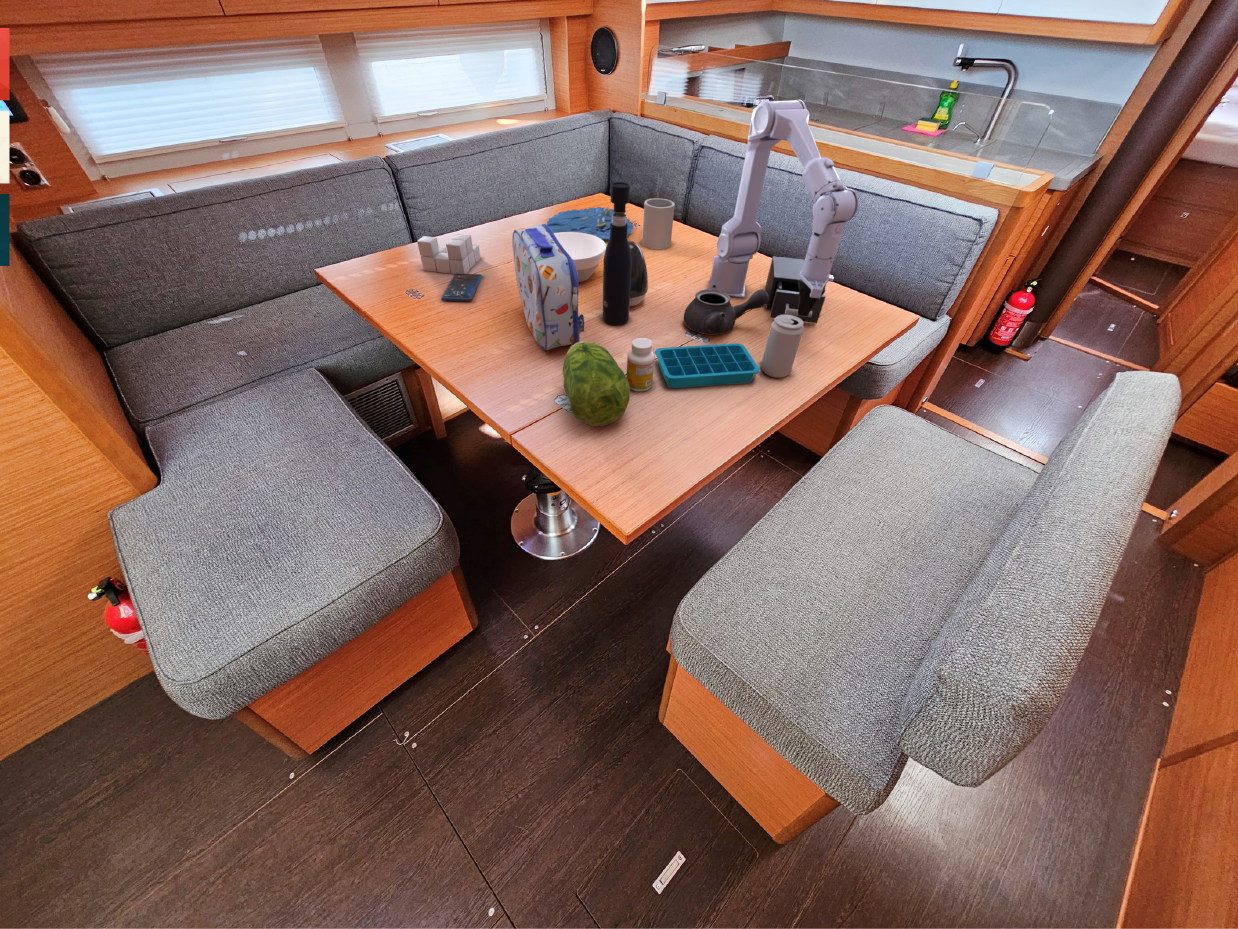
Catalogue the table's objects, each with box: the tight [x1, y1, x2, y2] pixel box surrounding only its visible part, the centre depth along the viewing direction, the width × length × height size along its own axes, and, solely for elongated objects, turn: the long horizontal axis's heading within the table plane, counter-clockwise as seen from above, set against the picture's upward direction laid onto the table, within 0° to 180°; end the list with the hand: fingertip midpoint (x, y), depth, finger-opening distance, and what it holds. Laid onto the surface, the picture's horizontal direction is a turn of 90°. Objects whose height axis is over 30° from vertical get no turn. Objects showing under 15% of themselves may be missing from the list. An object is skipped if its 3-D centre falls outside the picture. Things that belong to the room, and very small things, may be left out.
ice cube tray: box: [654, 342, 761, 389], centre depth 109 cm, size 12×20×3 cm, turn 100°
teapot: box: [683, 288, 769, 336], centre depth 120 cm, size 19×15×10 cm
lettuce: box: [562, 340, 631, 427], centre depth 97 cm, size 12×21×11 cm, turn 16°
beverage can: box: [760, 315, 805, 379], centre depth 107 cm, size 6×6×12 cm
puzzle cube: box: [416, 233, 482, 275], centre depth 142 cm, size 12×12×8 cm
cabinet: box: [764, 255, 827, 311], centre depth 133 cm, size 14×13×9 cm
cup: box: [641, 197, 676, 250], centre depth 158 cm, size 9×9×12 cm
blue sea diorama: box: [546, 206, 634, 240], centre depth 169 cm, size 30×30×5 cm
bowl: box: [554, 231, 607, 283], centre depth 140 cm, size 20×19×8 cm
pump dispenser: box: [628, 240, 649, 307], centre depth 127 cm, size 10×10×15 cm
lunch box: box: [512, 223, 585, 351], centre depth 113 cm, size 28×10×22 cm, turn 22°
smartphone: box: [440, 273, 483, 302], centre depth 134 cm, size 8×1×15 cm
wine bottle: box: [601, 181, 632, 327], centre depth 115 cm, size 6×6×30 cm
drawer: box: [769, 281, 826, 324], centre depth 127 cm, size 17×11×7 cm
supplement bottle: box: [625, 337, 656, 392], centre depth 102 cm, size 5×5×10 cm
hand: (802, 314), depth 116 cm, fingers closed
